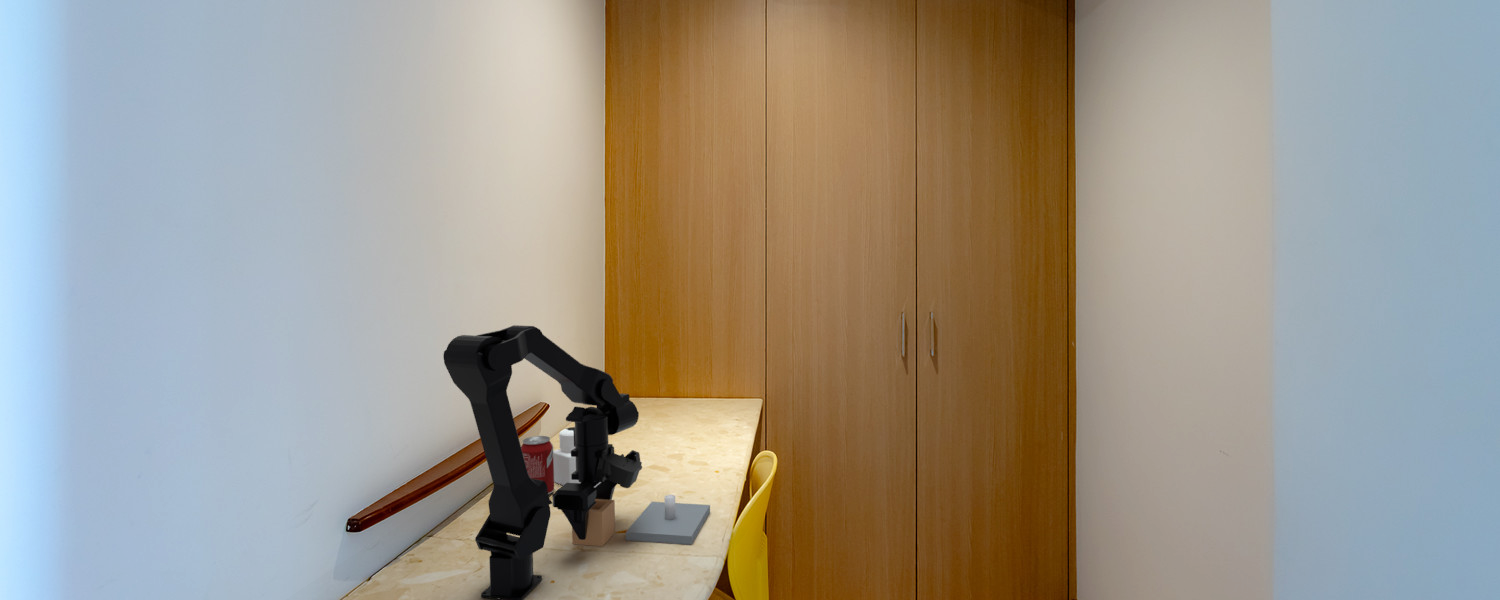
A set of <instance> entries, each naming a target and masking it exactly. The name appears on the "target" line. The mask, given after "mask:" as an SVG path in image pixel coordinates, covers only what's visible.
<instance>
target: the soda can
mask: <svg viewBox="0 0 1500 600" xmlns="http://www.w3.org/2000/svg"><path fill="white" fill-rule="evenodd" d="M550 440H551V438H550V437H549V436H546V435H536V436H535V435H533V436H530V437H526V438H524V439H523V440H522V445H521V449H522V453H523V457H524V461H525V464H526V468H527V472H528V475H529V477H530V478H532V479H537V480H542V481H545V483H546V485H547V489H548V496H549V495H550V494H551V493H552V494H553V492H554V491H555V482H554V459H553V451H554V445H553V443H552V442H551V441H550Z"/></svg>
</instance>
